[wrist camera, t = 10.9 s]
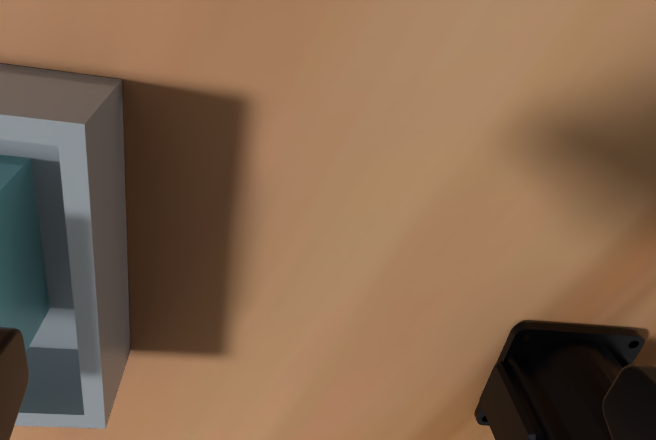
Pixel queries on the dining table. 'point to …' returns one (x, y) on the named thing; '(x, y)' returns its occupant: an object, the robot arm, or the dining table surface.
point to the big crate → (73, 239)
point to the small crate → (20, 251)
